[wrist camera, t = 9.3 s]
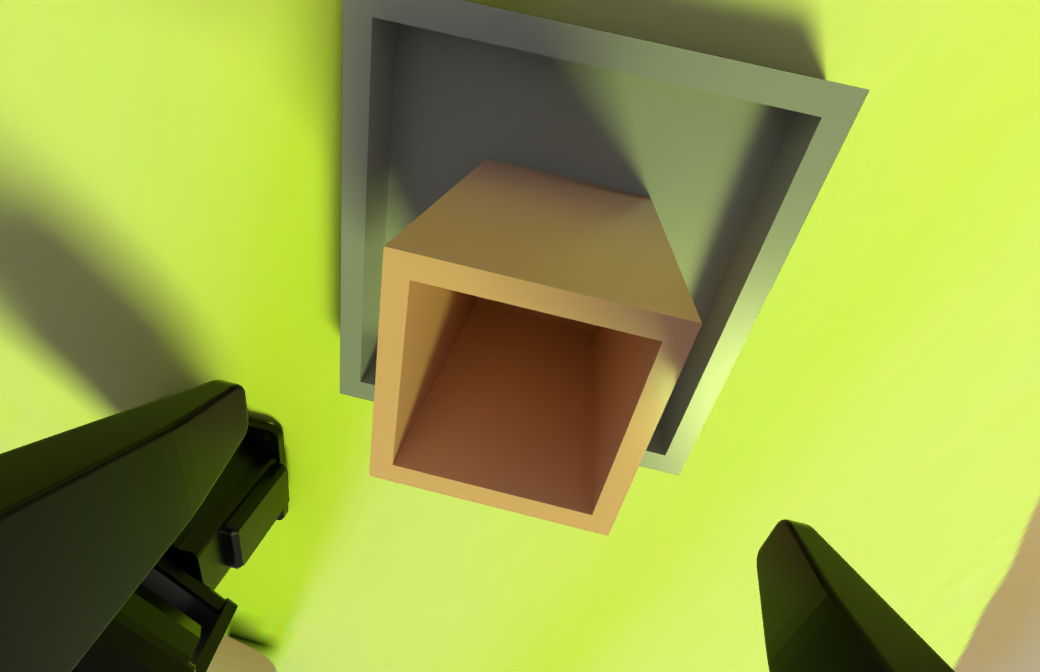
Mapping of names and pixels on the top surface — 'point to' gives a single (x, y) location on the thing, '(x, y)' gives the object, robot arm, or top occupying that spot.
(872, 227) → the top surface
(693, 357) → the tray
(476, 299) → the terracotta cup
